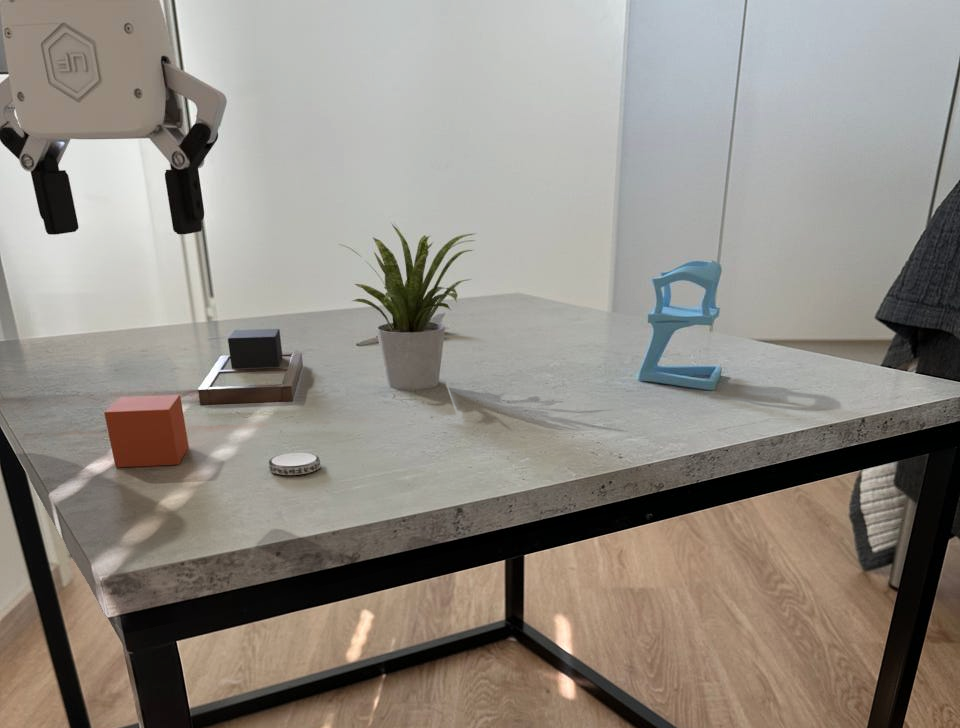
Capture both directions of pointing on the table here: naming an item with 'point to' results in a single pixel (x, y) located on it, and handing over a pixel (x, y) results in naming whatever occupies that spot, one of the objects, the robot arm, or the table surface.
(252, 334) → the black block
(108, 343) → the table surface
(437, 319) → the toy airplane
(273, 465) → the white round disc
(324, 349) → the table surface
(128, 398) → the terracotta cube
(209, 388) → the frame
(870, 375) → the table surface
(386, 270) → the house plant
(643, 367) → the chair
